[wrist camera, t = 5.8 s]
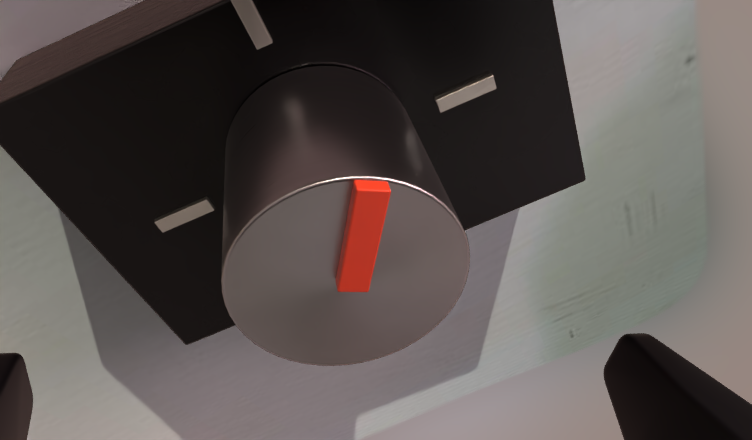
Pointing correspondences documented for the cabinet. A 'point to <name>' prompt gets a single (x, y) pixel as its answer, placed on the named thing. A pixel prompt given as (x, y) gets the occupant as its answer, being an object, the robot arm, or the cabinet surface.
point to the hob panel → (239, 81)
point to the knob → (335, 222)
